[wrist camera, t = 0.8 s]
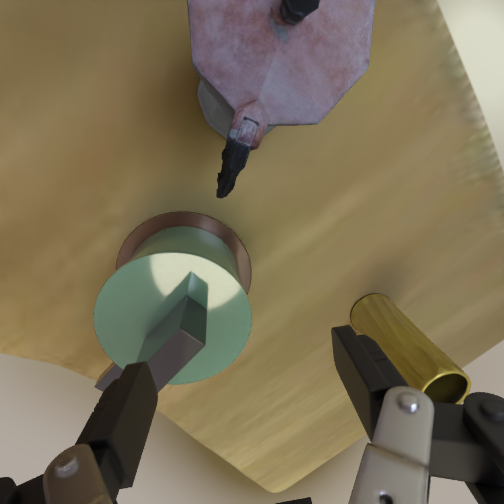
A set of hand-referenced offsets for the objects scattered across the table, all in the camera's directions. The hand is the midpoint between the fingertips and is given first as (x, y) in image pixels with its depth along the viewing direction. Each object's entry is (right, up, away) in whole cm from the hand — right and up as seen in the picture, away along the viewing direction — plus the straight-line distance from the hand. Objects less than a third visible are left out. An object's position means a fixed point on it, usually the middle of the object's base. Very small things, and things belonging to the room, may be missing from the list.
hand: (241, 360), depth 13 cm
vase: (+17, -4, +29) cm, 34 cm away
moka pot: (0, +20, +18) cm, 27 cm away
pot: (-9, 0, +23) cm, 25 cm away
